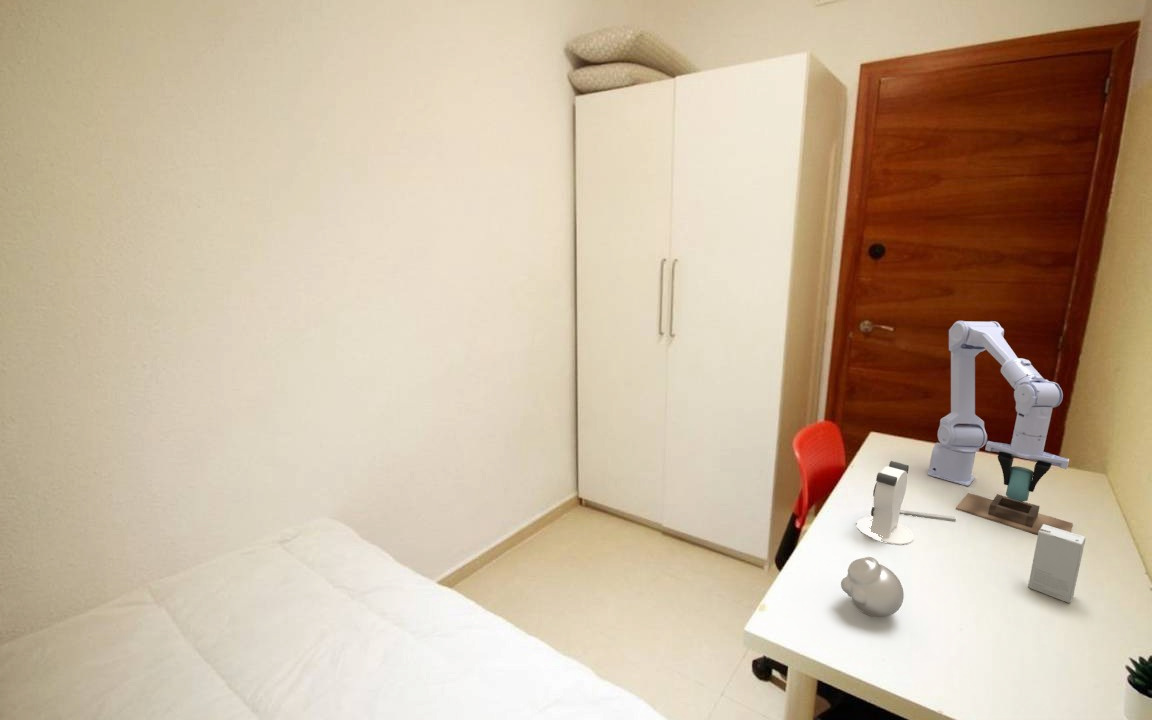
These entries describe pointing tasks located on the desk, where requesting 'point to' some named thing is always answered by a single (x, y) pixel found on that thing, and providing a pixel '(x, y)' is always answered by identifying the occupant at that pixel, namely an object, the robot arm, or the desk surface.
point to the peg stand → (1010, 513)
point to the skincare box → (1056, 562)
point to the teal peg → (1019, 483)
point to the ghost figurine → (873, 588)
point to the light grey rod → (928, 515)
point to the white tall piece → (890, 504)
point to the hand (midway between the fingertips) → (1018, 487)
